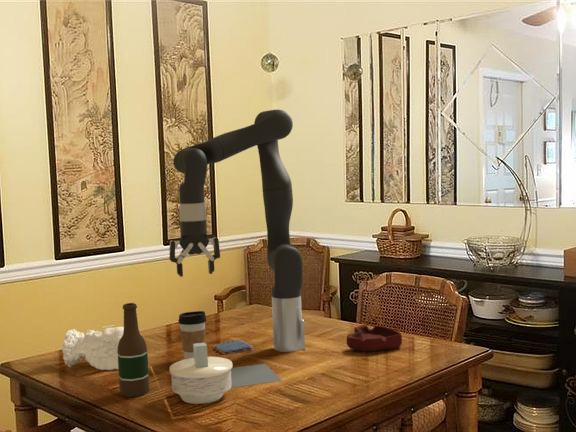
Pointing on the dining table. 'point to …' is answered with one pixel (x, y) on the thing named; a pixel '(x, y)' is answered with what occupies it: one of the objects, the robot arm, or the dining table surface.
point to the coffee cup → (192, 331)
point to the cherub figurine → (93, 347)
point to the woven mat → (233, 347)
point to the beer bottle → (132, 356)
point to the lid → (200, 365)
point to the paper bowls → (201, 388)
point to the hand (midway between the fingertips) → (195, 274)
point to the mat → (252, 375)
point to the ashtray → (373, 339)
